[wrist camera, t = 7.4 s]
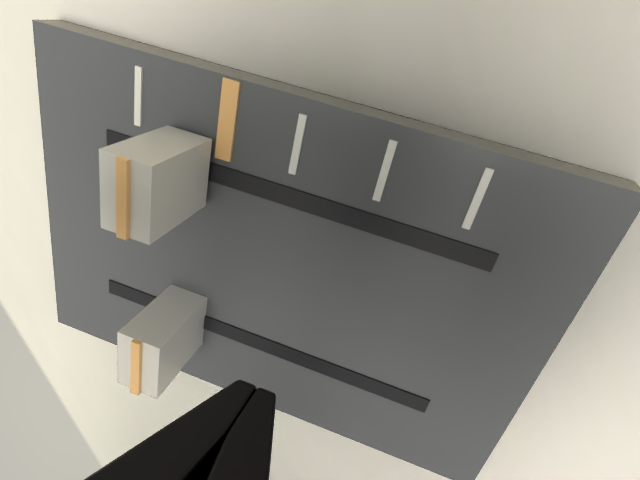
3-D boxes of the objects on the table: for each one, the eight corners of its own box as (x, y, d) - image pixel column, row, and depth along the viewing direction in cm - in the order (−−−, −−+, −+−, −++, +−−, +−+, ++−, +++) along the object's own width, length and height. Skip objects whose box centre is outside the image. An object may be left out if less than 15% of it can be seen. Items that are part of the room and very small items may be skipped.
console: (470, 461, 24) (471, 576, 19) (77, 307, 27) (-8, 370, 22) (634, 181, 16) (708, 251, 11) (60, 20, 20) (-74, 19, 15)
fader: (205, 205, 20) (145, 247, 16) (164, 192, 20) (96, 229, 16) (212, 138, 18) (148, 168, 15) (167, 125, 18) (94, 150, 15)
